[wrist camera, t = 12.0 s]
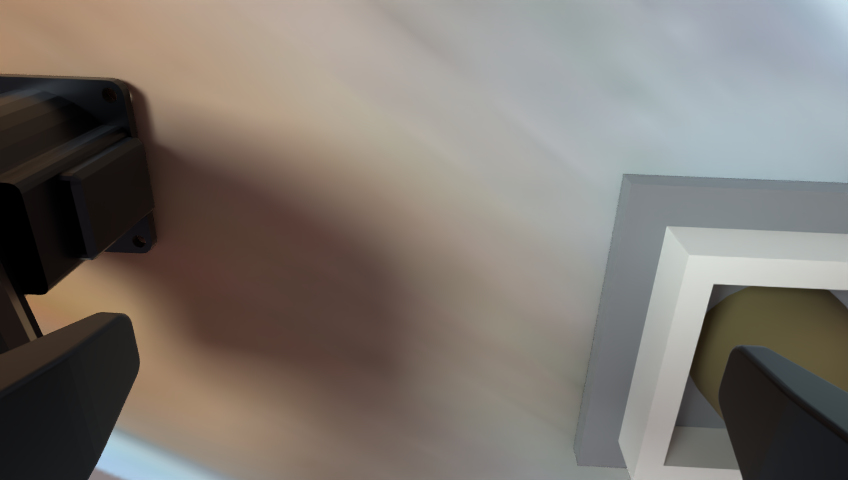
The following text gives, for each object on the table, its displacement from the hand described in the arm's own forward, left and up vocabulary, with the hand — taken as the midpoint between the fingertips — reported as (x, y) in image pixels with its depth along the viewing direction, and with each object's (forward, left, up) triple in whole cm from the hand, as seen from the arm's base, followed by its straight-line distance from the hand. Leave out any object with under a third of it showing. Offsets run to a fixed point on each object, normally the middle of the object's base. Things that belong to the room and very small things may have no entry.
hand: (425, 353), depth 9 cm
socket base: (+13, -8, -13) cm, 20 cm away
